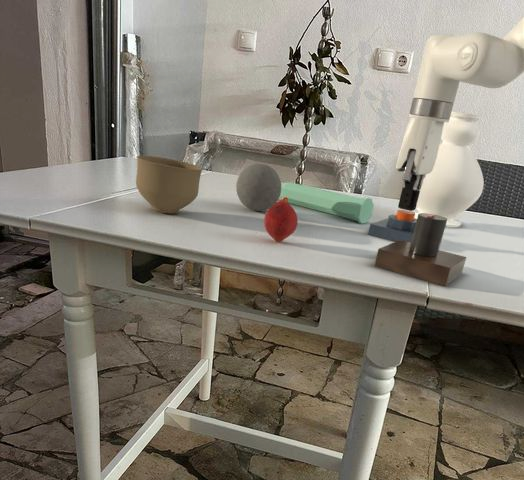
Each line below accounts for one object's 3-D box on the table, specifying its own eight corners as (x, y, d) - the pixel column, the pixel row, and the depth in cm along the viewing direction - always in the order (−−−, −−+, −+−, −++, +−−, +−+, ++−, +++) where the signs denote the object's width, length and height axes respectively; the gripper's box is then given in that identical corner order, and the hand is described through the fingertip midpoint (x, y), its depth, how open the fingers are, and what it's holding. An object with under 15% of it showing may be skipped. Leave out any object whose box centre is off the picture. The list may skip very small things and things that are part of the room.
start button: (415, 221, 106) (417, 212, 105) (409, 223, 103) (411, 214, 102) (399, 217, 107) (401, 209, 107) (393, 219, 105) (395, 210, 104)
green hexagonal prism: (280, 175, 126) (366, 193, 112) (292, 183, 131) (376, 202, 116) (271, 198, 127) (356, 219, 112) (284, 205, 131) (366, 227, 117)
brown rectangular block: (461, 274, 87) (466, 257, 85) (445, 286, 79) (450, 268, 78) (395, 256, 92) (399, 240, 91) (374, 266, 84) (378, 248, 83)
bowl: (208, 219, 100) (212, 167, 96) (144, 218, 95) (145, 162, 90) (188, 205, 110) (191, 157, 106) (129, 203, 105) (129, 152, 100)
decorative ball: (244, 203, 120) (248, 158, 115) (284, 211, 117) (290, 165, 113) (227, 209, 111) (231, 161, 107) (269, 218, 108) (275, 169, 104)
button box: (432, 240, 108) (437, 221, 106) (418, 247, 101) (423, 227, 99) (383, 228, 113) (388, 210, 111) (367, 234, 106) (371, 215, 104)
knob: (414, 247, 87) (423, 210, 84) (440, 253, 85) (451, 216, 82) (405, 251, 83) (415, 213, 81) (432, 258, 81) (443, 219, 79)
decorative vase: (393, 219, 124) (419, 107, 113) (406, 209, 139) (430, 109, 128) (468, 234, 118) (503, 117, 107) (473, 222, 133) (505, 119, 122)
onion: (280, 248, 88) (286, 201, 84) (255, 239, 91) (260, 194, 87) (300, 244, 92) (307, 199, 88) (275, 236, 95) (281, 192, 91)
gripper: (423, 111, 103) (401, 202, 112) (398, 106, 92) (375, 208, 100) (460, 116, 100) (434, 209, 108) (438, 112, 89) (411, 217, 97)
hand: (406, 209), depth 104 cm, fingers closed
